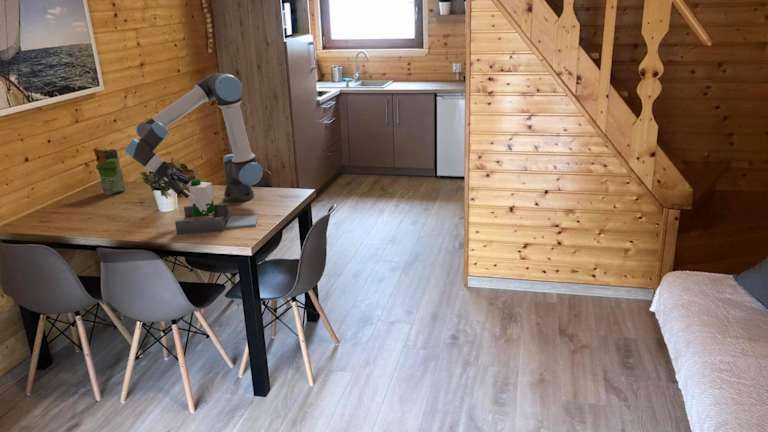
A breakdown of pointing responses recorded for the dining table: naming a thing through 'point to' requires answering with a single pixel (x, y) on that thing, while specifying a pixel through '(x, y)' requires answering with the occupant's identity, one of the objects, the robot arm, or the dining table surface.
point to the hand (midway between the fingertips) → (197, 196)
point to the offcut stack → (199, 217)
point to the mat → (242, 221)
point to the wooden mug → (184, 173)
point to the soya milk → (202, 198)
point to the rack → (203, 221)
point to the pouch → (109, 170)
